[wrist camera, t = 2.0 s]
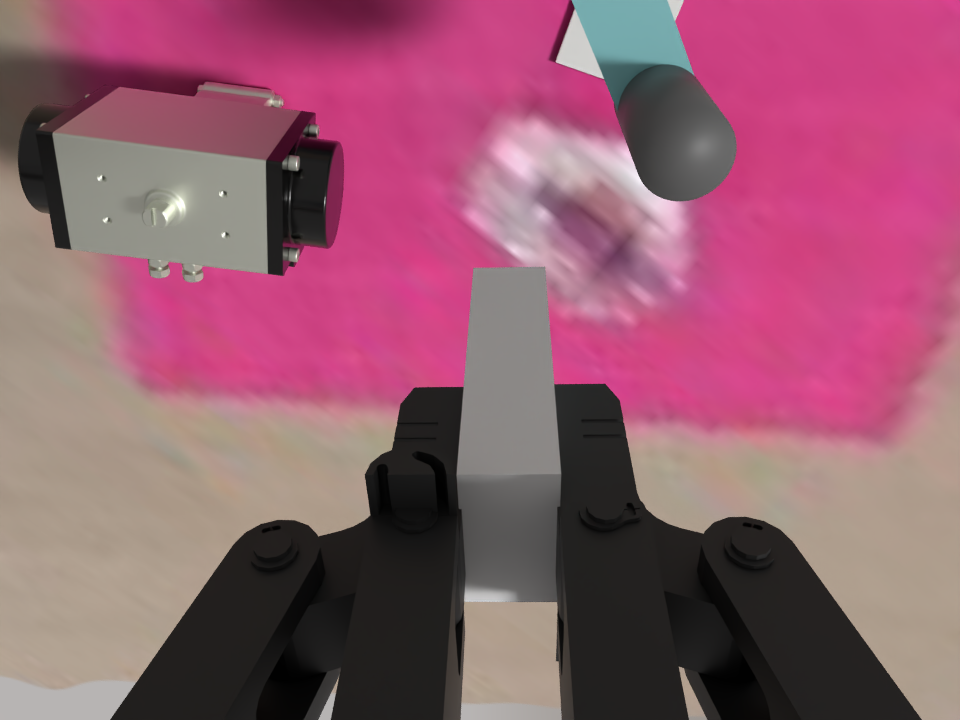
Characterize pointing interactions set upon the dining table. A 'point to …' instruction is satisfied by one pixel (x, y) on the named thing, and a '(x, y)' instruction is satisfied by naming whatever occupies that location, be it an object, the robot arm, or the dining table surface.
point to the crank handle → (658, 98)
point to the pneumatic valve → (184, 178)
